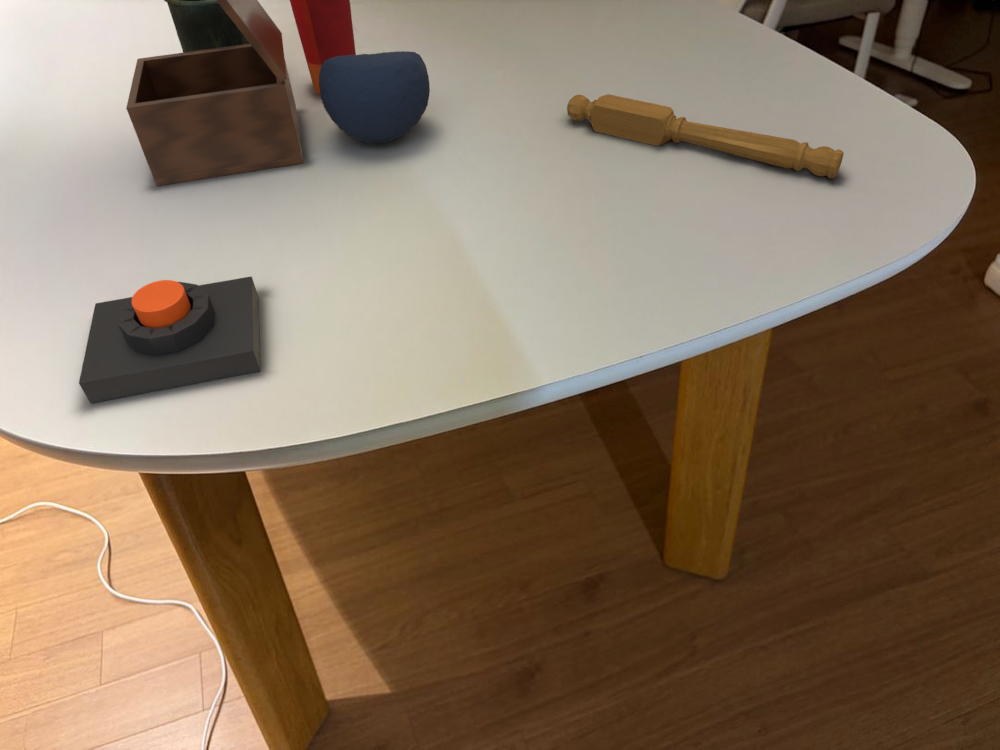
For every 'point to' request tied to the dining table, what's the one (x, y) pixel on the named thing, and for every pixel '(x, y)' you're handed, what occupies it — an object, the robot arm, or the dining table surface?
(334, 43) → the red tall block
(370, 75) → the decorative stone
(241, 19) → the box lid
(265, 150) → the box
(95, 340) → the switch block
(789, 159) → the wooden table leg
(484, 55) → the dining table surface
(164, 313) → the button
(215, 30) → the mug
